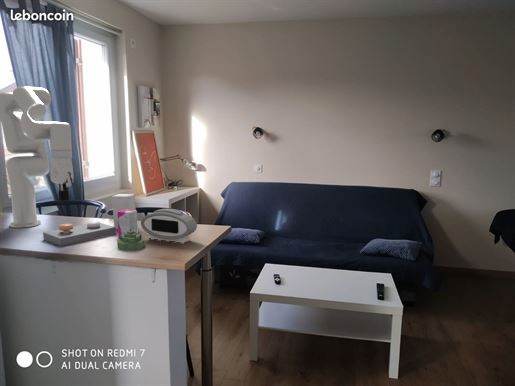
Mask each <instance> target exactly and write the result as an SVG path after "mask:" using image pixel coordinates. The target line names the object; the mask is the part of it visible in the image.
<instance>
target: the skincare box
mask: <svg viewBox="0 0 515 386" xmlns="http://www.w3.org/2000/svg"><path fill="white" fill-rule="evenodd" d="M111 203H112V215H113V227H116V231H118V211H122V210H136V194H135V193H118V194H115V195H112V196H111Z"/></svg>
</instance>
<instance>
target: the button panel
mask: <svg viewBox="0 0 515 386" xmlns="http://www.w3.org/2000/svg"><path fill="white" fill-rule="evenodd" d="M69 231H70V233H68V234H63V231H62V230H59V228H58V229H53V230H50V231H44V232H43V233H42V236H43V240H44V241H47V242H49V243H51V244H55V245H57V246H60V247H63V246H66V245H67V246H68V245H73V244H77V243H81V242H86V241H89V240H93V239H99V238H103V237H107V236H108V237H109V236H112V235H117V230H116V227H114V225H110V224H105V223H102V222H100V227H97V228H93V229H91V228H89V227H87V223H86V224H81V225H75V226H73V229H71V230H69Z"/></svg>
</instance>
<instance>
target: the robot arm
mask: <svg viewBox="0 0 515 386" xmlns="http://www.w3.org/2000/svg"><path fill="white" fill-rule="evenodd" d="M51 96H52V95H51V94H50V92H49V91H48V90H47V89H46V88H43V87H39V86H38V87H36V86H27V85H26V86H18V87H16V88H14V90H13V91H0V124H1V126H2V132H3V137H4V142H5V147H6V149H7V152H9V153H10V154H14V155H19V154H21V156H20V155H19V156H13V157H10V158H8V159H7V160H6V164H5V168H6V173H7V175H8V180H9V185H10V199H11V208H12V211H11V212H12V222H10V223H9V227H11V228H15V229H22V228H25V229H26V228H32V227H35V226H40V225H41V223H42V222H41V220H40V219H38V217H37V202H36V192H35V185H34V184H33V183H32V181H31V180H30V179H29V178H32V177H42V176H43V177H44V176H46V175H48V174H50V181H51V182H52V183H54V184H55V185H56V186H57V191H58V201H61V202H64V201H69V200H70V196H69V191H70V188H71V187H72V184H73V183H74V180H75V179H74V177H75V176H74V167H73V150H72V148H73V147H72V131H71V129H72V127H71V125H70V123H68V122H61V121H47V120H46V121H40V120H41V119H43V118H44V117H45V116H46V114H47V108H48V107H50V105H51V103H52V97H51ZM15 112H16V113H17V112H18V113H22V114H21V116H20V117H19V116H18V115H17V114H16V113H15ZM46 141H49V145H50V160H49V156H48V149H47V145H46ZM22 154H24V155H23V156H22ZM25 154H26V155H25ZM27 154H32V155H27ZM49 172H50V173H49Z"/></svg>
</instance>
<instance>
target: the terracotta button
mask: <svg viewBox="0 0 515 386" xmlns="http://www.w3.org/2000/svg"><path fill="white" fill-rule="evenodd" d="M73 227H74V224H73V223H62V224H61V223H60V224H59V225H58V229H59V230H62V231H63V234H68V233H70V231H69V230H71V229H73Z"/></svg>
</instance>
